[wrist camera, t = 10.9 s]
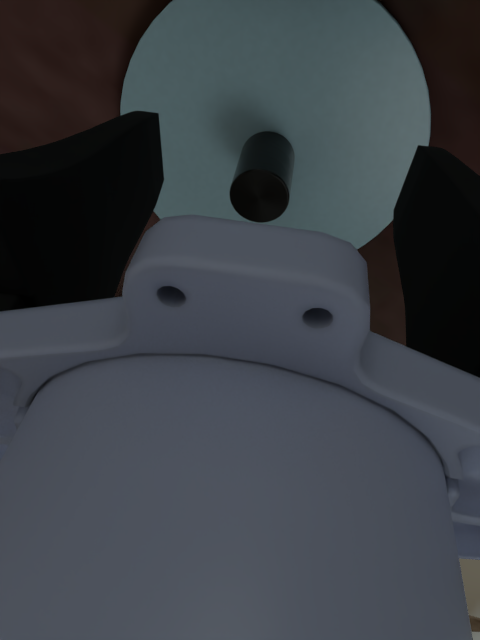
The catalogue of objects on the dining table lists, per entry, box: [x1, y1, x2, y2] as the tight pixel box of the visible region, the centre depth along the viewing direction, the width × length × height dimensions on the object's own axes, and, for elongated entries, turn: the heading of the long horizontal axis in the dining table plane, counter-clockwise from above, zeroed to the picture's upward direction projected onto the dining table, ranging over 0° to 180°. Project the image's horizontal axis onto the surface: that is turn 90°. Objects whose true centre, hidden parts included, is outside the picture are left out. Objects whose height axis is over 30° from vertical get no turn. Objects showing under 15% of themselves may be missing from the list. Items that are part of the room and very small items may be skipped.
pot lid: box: [120, 0, 431, 250], centre depth 20 cm, size 15×15×5 cm
